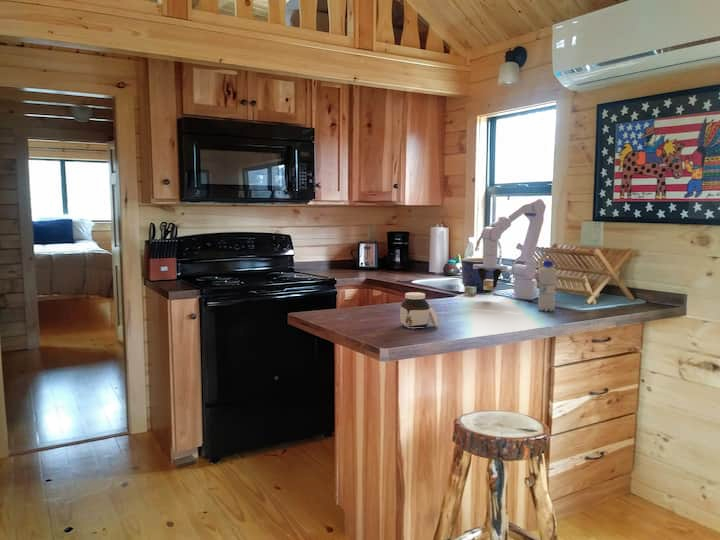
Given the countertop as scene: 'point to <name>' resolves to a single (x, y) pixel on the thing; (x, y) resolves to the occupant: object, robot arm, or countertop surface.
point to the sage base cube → (470, 291)
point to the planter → (474, 274)
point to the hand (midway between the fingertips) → (489, 286)
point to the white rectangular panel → (479, 298)
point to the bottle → (547, 287)
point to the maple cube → (488, 284)
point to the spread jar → (417, 311)
